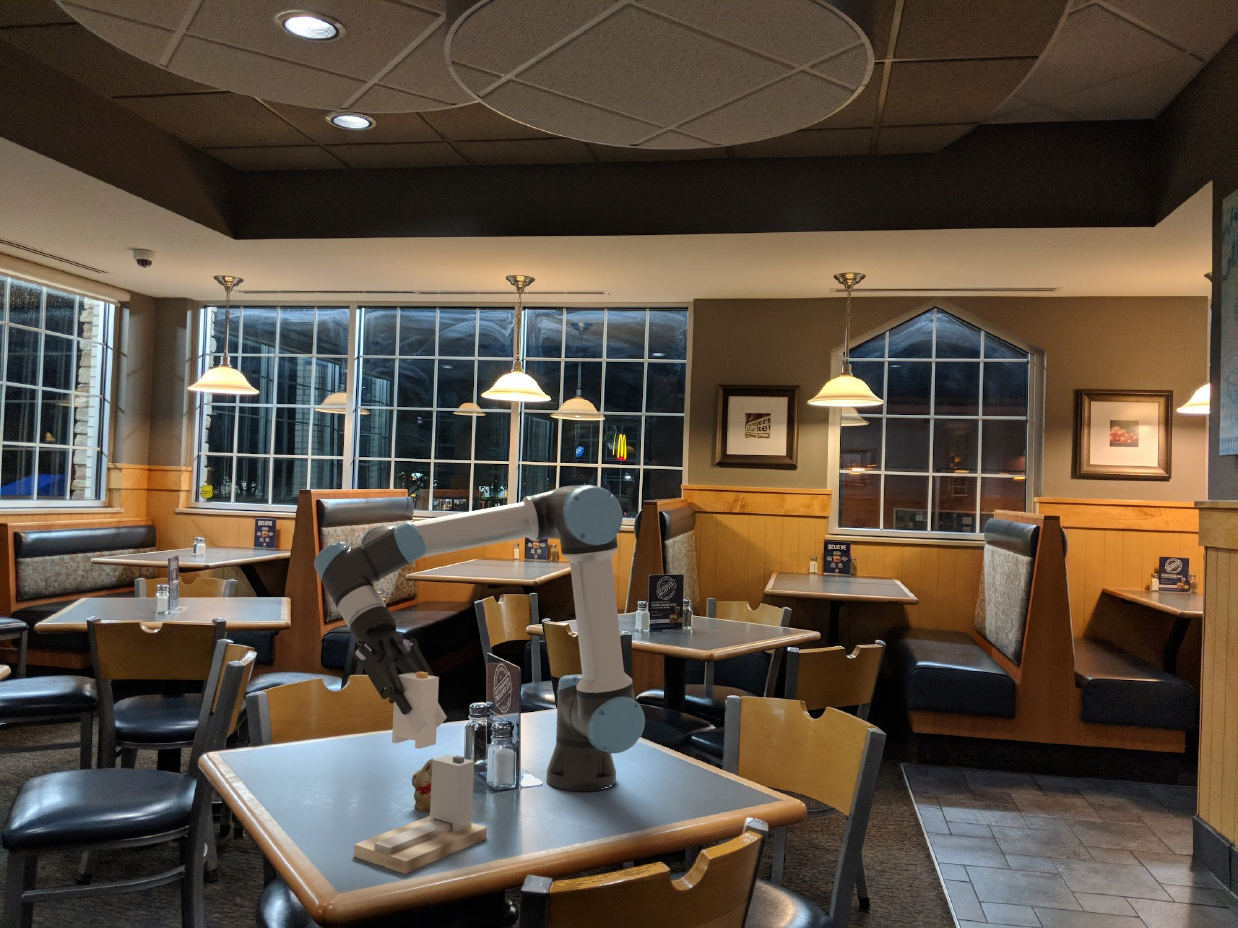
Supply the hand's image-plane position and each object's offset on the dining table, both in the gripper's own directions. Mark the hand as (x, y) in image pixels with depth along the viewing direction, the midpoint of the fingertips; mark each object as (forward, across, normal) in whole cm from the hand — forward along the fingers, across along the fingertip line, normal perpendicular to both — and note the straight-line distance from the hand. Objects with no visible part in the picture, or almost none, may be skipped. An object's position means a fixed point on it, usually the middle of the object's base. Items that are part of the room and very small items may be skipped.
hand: (431, 724), depth 157 cm
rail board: (+13, -3, -18) cm, 23 cm away
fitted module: (+12, -10, -17) cm, 23 cm away
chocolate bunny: (+4, -18, -28) cm, 33 cm away
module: (0, 0, -5) cm, 5 cm away
